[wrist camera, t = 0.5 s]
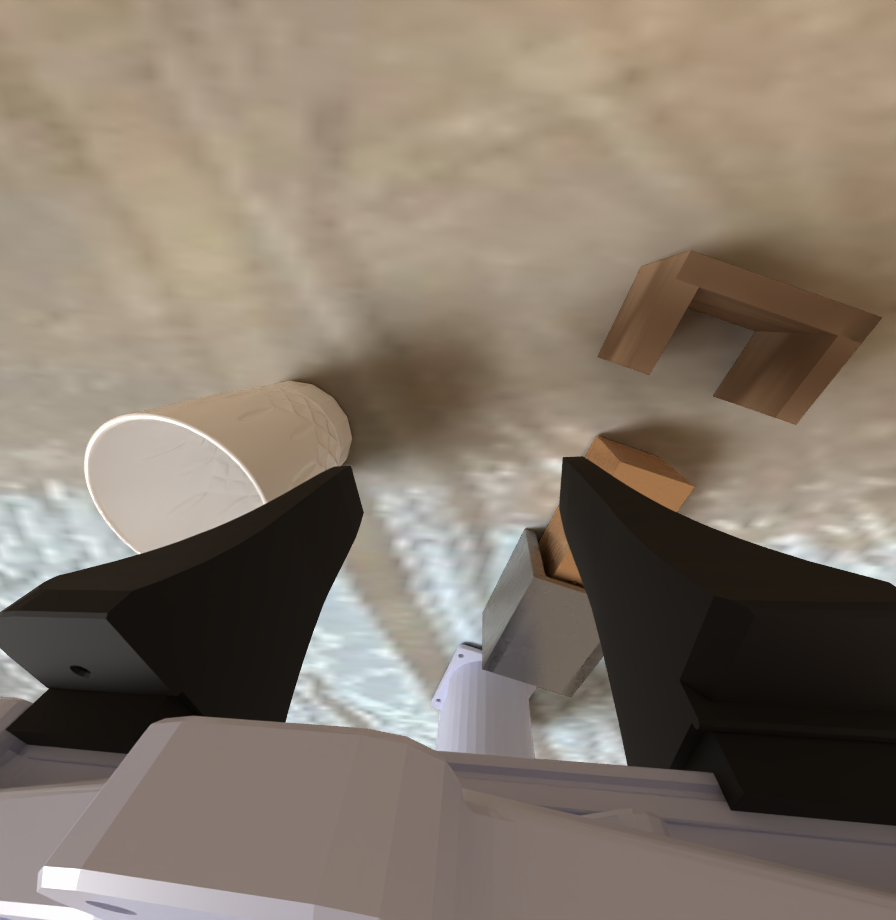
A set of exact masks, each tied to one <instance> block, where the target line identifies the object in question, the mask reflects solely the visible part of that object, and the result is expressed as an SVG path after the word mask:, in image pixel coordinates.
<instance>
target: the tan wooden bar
mask: <svg viewBox="0 0 896 920" xmlns="http://www.w3.org/2000/svg"><path fill="white" fill-rule="evenodd" d="M585 458H586V459H588V460H590V461H591V462H593V463H594V464H596V465H597V466H599V467H600V468H602V469H603V470H605V471H606V472H608V473H609V474H611V475H612V476H614V477H615V478H617V479H618V480H620V481H621V482H623V483H625V484H626V485H628V486H629V487H631V488H633V489H634V490H636V491H638V492H639V493H641V494H643V495H645V496H646V497H648V498H650V499H652V500H654V501H655V502H657V503H659V504H661V505H663V506H665V507H667V508H669V509H671V510H673V511H675V512H677V511H678V509H679V508H680V506H681V505H682V504H683V502H684V501H685V500H686V498H687V497H688V495H689V494H690V493H691V491H692V490H693V489H694V487H695V486H694V485H692V484H691V483H690V482H689V481H687V480H686V479H685V478H684V477H682V476H681V475H680V474H679V473H678V472H676V471H675V470H674V469H673V468H671V467H670V466H669V465H668V464H667V463H665V462H664V461H663V460H662V459H660V458H659V457H658V456H656V455H653V454H650V453H647V452H644V451H641V450H638V449H635V448H632V447H629V446H626V445H623V444H620V443H617V442H614V441H611V440H608V439H605V438H602V437H599V436H596V437H595V439H594V441H593V443H592V444H591V446H590V448H589V450H588V452H587V454H586V456H585ZM538 546H539V550H540V554H541V559H542V563H543V568H544V572H545V576H546V577H549V578H553V579H556V580H559V581H562V582H565V583H568V584H571V585H574V586H578V587H581V588H584V585H583V583H582V580H581V577H580V575H579V572H578V569H577V567H576V564H575V561H574V559H573V556H572V553H571V550H570V548H569V545H568V542H567V540H566V537H565V533H564V529H563V525H562V520H561V515H560V511H559V506H558V508H557V510H556V511H555V513H554V515H553V517H552V519H551V521H550V523H549V524H548V526H547V528H546V530H545V532H544V534H543V536H542V538H541V539H540V541H539V543H538ZM584 589H585V588H584Z"/></svg>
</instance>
